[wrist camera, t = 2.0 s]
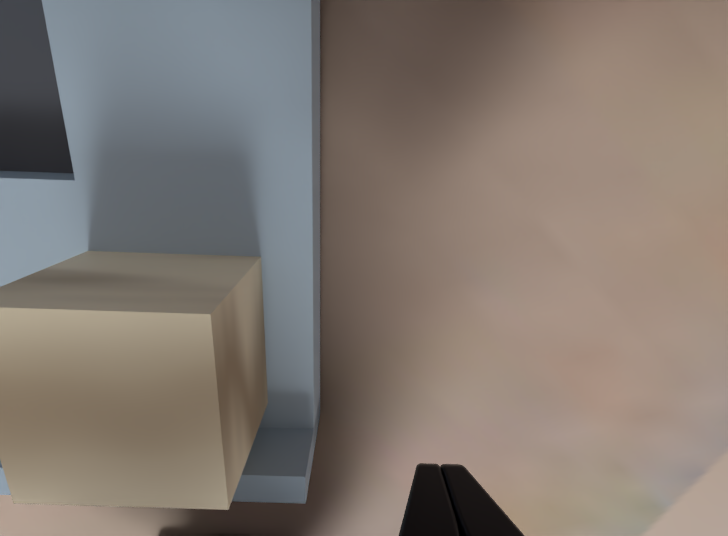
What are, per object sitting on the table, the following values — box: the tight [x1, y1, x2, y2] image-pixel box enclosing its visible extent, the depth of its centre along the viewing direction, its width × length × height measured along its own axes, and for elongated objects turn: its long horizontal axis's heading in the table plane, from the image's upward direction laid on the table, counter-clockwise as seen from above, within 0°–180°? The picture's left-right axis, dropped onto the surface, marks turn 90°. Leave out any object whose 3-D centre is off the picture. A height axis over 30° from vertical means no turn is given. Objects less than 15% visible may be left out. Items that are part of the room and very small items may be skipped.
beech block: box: [0, 251, 268, 510], centre depth 11 cm, size 5×5×4 cm
